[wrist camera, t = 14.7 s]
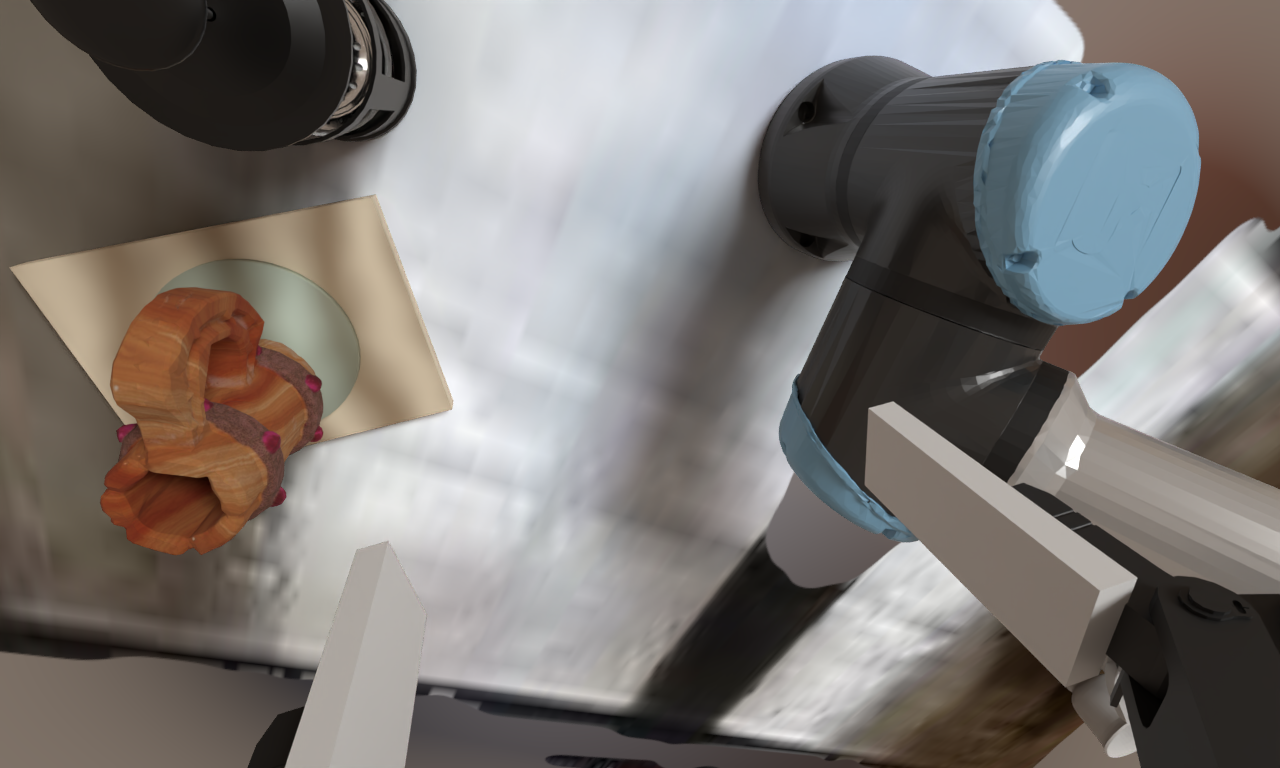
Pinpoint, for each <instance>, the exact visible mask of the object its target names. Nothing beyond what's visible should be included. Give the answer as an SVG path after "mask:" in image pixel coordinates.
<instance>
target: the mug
mask: <svg viewBox="0 0 1280 768" xmlns="http://www.w3.org/2000/svg"><path fill="white" fill-rule="evenodd" d="M263 327H264V321H263V319H262V318H261V317H260V315H259V314H258V313H257V311H256V310H255V309H254V308H253V307H252V305H251V304H250V303H249V302H248V301H247V300H245V299H244V298H243V297H242V296H241V295H239V294H237V293H234V292H231V291H222V290H213V289H205V288H198V287H186V288H175V289H171V290H168V291H166V292H163V293H161V294H158V295H157V296H156V297H155V298H154V299H153V300H152V301H151V302H150V303H148V304H147V305H145V307H144V308H143V309H142V310H141V311H140V313H139V314H138V315H137V316H136V317H135V319H134V320H133V321H132V322H131V324H130V326H129V328H128V330H127V332H126V334H125V336H124V338H123V340H122V342H121V345H120V347H119V349H118V352H117V354H116V356H115V359H114V361H113V364H112V372H111V380H110V388H111V391H112V395H113V398H114V400H115V402H116V404H117V406H119V407H120V408H122V409H123V410H124V411H126V412H127V413H129V414H130V415H131V416H133V417H134V418H135V419H136V422H137V423H134V424H127V425H123V426H122V427H120V428H119V429H118V430H117V437H118V440H119V442H122V446H121V451H120V455H119V460H118V463H117V464H116V465H115V466H114V467H113V468H112V469H111V470H110V471H109V472H108V473H107V475H106V477H105V482H104V485H105V486H106V487H107V488H108V489H107V490H106V491H105V492H104V494H103V495H102V496H101V501H100V504H101V507H102V510H103V511H104V512H105V513H106V514H107V515H108V516H109V517H111V522H112V523H113V524H114V525H118V526H122V527H125V529H126V534H127V539H128V540H129V541H131V542H132V543H134V544H137V545H140V546H143V547H146V548H149V549H152V550H156V551H160V552H164V553H168V554H172V555H179V554H183V553H184V552H186V551H187V550H188V549H191V548H195V549H196V550H197V551H198V552H199V553H200V554H201V555H202V554H204V553H206V552H209V551H211V550H213V549H215V548H218V547H220V546H222V545H224V544H225V543H227V542H228V541H230V540H231V539H232V538H233V537H234V536H235V535H236V534H237V533H238V532H239V531H240V530H241V529H242V528H243V526H244V525H245V524H246V522H247V521H249V520H251V519H253V518H255V517H256V516H257V515H259V514H260V513H261V512H263V511H264V510H266V509H267V508H269V507H274V506H278V505H280V504H282V503H283V501H284V500H285V498H286V492H285V490H284V489H283V488H282V487H281V483H282V480H283V477H284V462H285V460H286V459H287V457H288V456H289V455H291V454H293V453H295V452H297V451H299V450H300V449H301V448H303V447H304V446H305V445H306V444H307V443H309V442H317V441H319V440H321V438H322V436H323V430H322V428H321V427H320V426H319V425H320V421H321V417H322V414H323V398H322V393H321V390H320V389H321V386H322V381H321V379H320V378H318V377H317V376H316V375H315V372H314V370H313V369H312V368H311V367H310V365H309V364H308V363H307V362H306V361H305V360H304V359H303V358H302V357H300V356H299V355H297V354H296V353H295V352H294V351H293V350H292V349H290V348H289V347H287V346H286V345H284V344H283V343H279V342H275V341H271V340H267V339H260V338H261V335H262V332H263Z"/></svg>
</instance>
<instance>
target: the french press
mask: <svg viewBox="0 0 1280 768" xmlns="http://www.w3.org/2000/svg"><path fill="white" fill-rule="evenodd" d="M30 1H31V2H32V3H33V5H34V6H35V7H36V8H37V10H38V11H39V12H40V13H41V15H42V16H43V17H44V18H45V20H46V21H47V22H48V23H49V24H51V25H52V26H53V27H54V28H55V29H56V30H57V31H58V32H59V33H60V34H61V35H62V36H63V37H64V38H66V39H67V40H68V41H70V42H71V43H73V44H74V45H75V46H77V47H78V48H79V49H81V50H82V51H84V52H86V53H88V54H89V55H90V57H91V58H92V59H93V61H94V62H95V63H96V64H97V66H98V67H99V68H100V69H101V71H102V72H103V73H104V75H105V76H106V77H107V78H108V80H109V81H110V82H112V83H113V84H114V85H115V86H116V87H117V88H118V89H119V90H120V91H121V92H122V93H123V94H124V95H125V96H126V97H127V98H128V99H129V100H130V101H131V102H132V103H134V104H135V105H136V106H138V107H139V108H140V109H142V110H143V111H144V112H146V113H147V114H149V115H150V116H151V117H153V118H154V119H155V120H157V121H158V122H160V123H162V124H164V125H165V126H167V127H169V128H171V129H173V130H175V131H177V132H178V133H180V134H182V135H184V136H186V137H189V138H192V139H195V140H197V141H200V142H203V143H206V144H209V145H211V146H216V147H221V148H227V149H232V150H237V151H266V150H271V149H276V148H281V147H286V146H290V145H309V144H314V143H319V142H324V141H329V140H332V139H336V140H341V141H363V140H368V139H373V138H376V137H378V136H380V135H383V134H385V133H387V132H388V131H390V130H391V129H392V128H394V127H395V126H396V125H397V124H398V123H399V122H400V121H401V120H402V118H403V117H404V116H405V115H406V113H407V111H408V109H409V107H410V105H411V103H412V101H413V97H414V92H415V88H416V72H417V70H416V64H415V57H414V52H413V49H412V46H411V43H410V40H409V37H408V35H407V33H406V31H405V29H404V27H403V25H402V23H401V21H400V20H399V19H398V17H397V16H396V15H395V13H394V12H393V10H392V9H391V8H390V6H389V5H388V4H387V3H386V2H385V1H384V0H30ZM389 47H390V48H389ZM390 50H391V53H392V57H393V63H394V78H391V67H392V60H391V54H390ZM310 136H320V138H315V139H310V140H303V139H306V138H308V137H310Z"/></svg>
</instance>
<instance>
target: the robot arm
mask: <svg viewBox="0 0 1280 768" xmlns="http://www.w3.org/2000/svg"><path fill="white" fill-rule="evenodd" d="M1198 144H1199V132H1198V127H1197V124H1196V120H1195V117H1194V114H1193V111H1192V109H1191V107H1190V106H1189V104H1188V102H1187V100H1186V98H1185V97H1184V95H1183V94H1182V92H1181V91H1180V90H1179V89H1178V88H1177V86H1175V84H1173V83H1172V82H1171V81H1170V80H1169V79H1167V78H1166V77H1165V76H1163V75H1162V74H1160V73H1158V72H1156V71H1154V70H1152V69H1149V68H1147V67H1144V66H1141V65H1136V64H1129V63H1090V64H1082V63H1080V62H1074V61H1071V62H1070V61H1065V60H1057V61H1055V62H1054V61H1049V62H1043V63H1040V64H1037V65H1036V66H1029V67H1019V68H1010V69H1001V70H992V71H983V72H973V73H964V74H955V75H946V76H937V77H932V76H930V75H928V74H926V73H924V72H922V71H920V70H918V69H916V68H914V67H912V66H910V65H908V64H906V63H904V62H902V61H900V60H897V59H894V58H890V57H884V56H862V57H855V58H849V59H844V60H840V61H836V62H833V63H831V64H828V65H826V66H824V67H822V68H820V69H818V70H817V71H815V72H813V73H812V74H811V75H809V76H808V77H806V78H805V79H804V80H803V81H802V82H800V83H799V84H798V85H797V86H796V87H795V88H794V89H793V90H792V92H791V93H790V94H789V95H788V96H787V97H786V99H785V100H784V101H783V103H782V104H781V106H780V107H779V109H778V110H777V112H776V114H775V116H774V117H773V119H772V121H771V123H770V126H769V128H768V130H767V133H766V136H765V139H764V142H763V145H762V149H761V154H760V160H759V170H758V184H759V193H760V199H761V203H762V206H763V210H764V212H765V215H766V217H767V219H768V221H769V223H770V225H771V226H772V228H773V229H774V231H775V232H776V233H777V234H778V235H779V237H780V238H781V239H782V240H783V241H785V242H786V243H787V244H788V245H790V246H791V247H793V248H795V249H797V250H799V251H801V252H803V253H805V254H808V255H810V256H812V257H815V258H818V259H822V260H828V261H850V260H853V262H852V264H851V267H850V269H849V271H848V273H847V275H846V277H845V279H844V281H843V283H842V285H841V287H840V290H839V292H838V294H837V296H836V298H835V300H834V302H833V305H832V307H831V309H830V311H829V313H828V315H827V317H826V320H825V322H824V324H823V326H822V328H821V330H820V333H819V335H818V337H817V339H816V341H815V343H814V345H813V348H812V350H811V352H810V354H809V356H808V358H807V360H806V363H805V365H804V367H803V369H802V371H801V373H800V374H797V376H796V377H795V379H794V381H793V385H792V394H791V396H790V399H789V401H788V404H787V406H786V409H785V411H784V414H783V416H782V419H781V421H780V426H779V440H780V444H781V447H782V450H783V452H784V454H785V455H786V458H787V461H788V463H789V465H790V466H791V468H792V469H793V471H794V472H795V473H796V475H797V476H798V477H799V478H800V480H801V481H802V482H803V483H804V484H805V485H806V486H807V487H808V488H809V489H810V490H811V491H812V492H813V493H814V494H815V495H816V496H817V497H818V498H819V499H821V500H822V501H823V502H824V503H826V504H827V505H828V506H829V507H830V508H832V509H833V510H834V511H836V512H837V513H839V514H840V515H841V516H843V517H844V518H846V519H847V520H849V521H850V522H852V523H854V524H856V525H857V526H859V527H861V528H863V529H865V530H867V531H869V532H872V533H874V534H878V533H883V534H884V535H885V536H886V537H887V538H888V539H890V540H894V541H899V542H914V541H918V540H920V541H921V542H922V543H923V544H924V545H925V546H926V547H927V548H928V550H929V551H930V552H931V553H932V554H933V555H934V556H935V557H936V558H937V559H938V560H939V561H940V562H941V563H942V564H943V565H944V566H945V567H946V568H947V569H948V570H949V571H950V572H951V573H952V574H953V575H954V576H955V577H956V578H957V579H958V580H959V581H960V582H961V583H962V584H963V585H964V586H965V587H966V588H967V589H968V590H969V591H970V592H971V593H972V594H973V595H974V596H975V597H976V598H977V599H978V600H979V601H980V602H981V603H982V604H983V605H984V606H985V607H986V608H987V609H988V610H989V611H990V612H991V613H992V614H993V615H994V616H995V617H996V618H997V619H998V620H999V621H1000V622H1001V623H1002V624H1003V625H1004V626H1005V627H1006V628H1007V629H1008V630H1009V631H1010V632H1011V633H1012V634H1013V635H1014V636H1015V637H1016V638H1017V639H1018V640H1019V641H1020V642H1021V643H1022V644H1023V645H1024V646H1025V647H1026V648H1027V649H1028V650H1029V651H1030V652H1031V653H1032V654H1033V655H1034V656H1035V657H1036V658H1037V659H1038V660H1039V661H1040V662H1041V663H1042V664H1043V665H1044V666H1045V667H1046V668H1047V669H1048V670H1049V671H1050V672H1051V673H1052V674H1053V675H1054V676H1055V677H1056V678H1057V679H1058V680H1059V681H1060V683H1061V684H1062V685H1063V686H1064V687H1068V686H1071V685H1073V684H1076V683H1079V682H1082V681H1084V680H1087V679H1090V678H1092V677H1095V676H1098V675H1099V673H1100V671H1101V668H1102V666H1103V663H1104V661H1105V658H1106V656H1108V657H1109V658H1111V659H1112V660H1113V661H1114V662H1115V663H1116V664H1117V665H1118V666H1120V667H1121V668H1122V670H1121V672H1120V674H1119V677H1118V679H1117V681H1116V684H1115V686H1114V688H1113V691H1112V693H1111V695H1110V706H1113V707H1116V708H1117V707H1118V705H1119V702H1120V700H1121V698H1122V696H1124V700H1125V705H1126V709H1127V713H1128V717H1129V721H1130V725H1131V729H1132V733H1133V737H1134V741H1135V745H1136V749H1137V753H1138V757H1139V761H1140V766H1141V768H1280V490H1279V489H1277V488H1275V487H1272V486H1270V485H1267V484H1265V483H1263V482H1260V481H1258V480H1255V479H1253V478H1251V477H1248V476H1246V475H1243V474H1241V473H1239V472H1236V471H1234V470H1231V469H1229V468H1227V467H1224V466H1222V465H1219V464H1217V463H1215V462H1212V461H1210V460H1207V459H1205V458H1202V457H1200V456H1198V455H1195V454H1193V453H1190V452H1188V451H1186V450H1183V449H1181V448H1178V447H1176V446H1174V445H1171V444H1169V443H1166V442H1164V441H1162V440H1159V439H1157V438H1154V437H1152V436H1150V435H1147V434H1145V433H1142V432H1140V431H1138V430H1135V429H1133V428H1130V427H1128V426H1126V425H1123V424H1121V423H1118V422H1116V421H1113V420H1111V419H1109V418H1106V417H1104V416H1101V415H1099V414H1098V413H1097V412H1095V411H1094V410H1093V409H1091V408H1090V407H1089V404H1088V402H1087V400H1086V398H1085V395H1084V393H1083V391H1082V389H1081V387H1080V384H1079V382H1078V380H1077V377H1076V375H1075V374H1074V373H1072V372H1070V371H1067V370H1064V369H1062V368H1060V367H1057V366H1054V365H1052V364H1050V363H1047V362H1044V361H1042V360H1041V359H1040V358H1039V357H1040V355H1041V353H1042V352H1043V350H1044V348H1045V346H1046V345H1047V343H1048V342H1049V340H1050V339H1051V337H1052V335H1053V334H1054V332H1055V331H1056V329H1057V328H1058V327H1059V326H1063V325H1069V324H1083V323H1089V322H1093V321H1096V320H1099V319H1101V318H1103V317H1107V316H1109V315H1111V314H1113V313H1114V312H1116V311H1118V310H1119V309H1120V308H1121V307H1122V304H1123V300H1124V299H1133V298H1135V297H1137V296H1138V295H1139V294H1140V293H1141V292H1143V291H1144V290H1145V289H1146V288H1147V287H1148V285H1149V284H1150V283H1151V282H1152V281H1153V280H1154V278H1155V277H1156V276H1157V275H1158V274H1159V273H1160V271H1161V270H1162V269H1163V267H1164V266H1165V264H1166V263H1167V261H1168V260H1169V258H1170V256H1171V255H1172V253H1173V252H1174V250H1175V248H1176V246H1177V245H1178V243H1179V241H1180V239H1181V237H1182V235H1183V232H1184V230H1185V228H1186V226H1187V223H1188V220H1189V218H1190V215H1191V212H1192V209H1193V205H1194V201H1195V198H1196V194H1197V189H1198V184H1199V175H1200V167H1201V159H1200V156H1199V153H1198ZM426 618H427V614H426V612H425V610H424V608H423V606H422V604H421V602H420V601H419V599H418V597H417V595H416V593H415V591H414V589H413V587H412V585H411V583H410V581H409V579H408V577H407V575H406V574H405V572H404V570H403V568H402V566H401V564H400V562H399V560H398V558H397V556H396V554H395V552H394V550H393V548H392V546H391V545H390V543H389V541H387V542H383V543H380V544H376V545H372V546H369V547H365V548H362V549H358V550H357V551H356V554H355V557H354V560H353V563H352V566H351V569H350V572H349V575H348V578H347V581H346V584H345V587H344V590H343V593H342V596H341V599H340V602H339V605H338V608H337V611H336V614H335V617H334V620H333V623H332V626H331V629H330V632H329V636H328V639H327V642H326V645H325V648H324V651H323V654H322V657H321V660H320V663H319V666H318V669H317V672H316V675H315V678H314V681H313V684H312V687H311V690H310V693H309V696H308V699H307V702H306V705H305V706H304V707H301V708H298V709H294V710H292V711H288V712H285V713H282V714H279V715H277V717H276V718H275V719H274V721H273V722H272V724H271V725H270V727H269V728H268V729H267V731H266V732H265V734H264V735H263V737H262V738H261V739H260V741H259V742H258V743H257V745H256V747H255V750H254V753H253V755H252V758H251V760H250V763H249V765H248V768H405V762H406V755H407V748H408V741H409V735H410V728H411V721H412V714H413V707H414V699H415V694H416V687H417V680H418V673H419V666H420V659H421V653H422V646H423V639H424V632H425V625H426Z"/></svg>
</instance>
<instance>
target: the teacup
mask: <svg viewBox="0 0 1280 768" xmlns="http://www.w3.org/2000/svg"><path fill="white" fill-rule="evenodd" d="M1067 689H1068V690H1069V691H1071V692H1072V693H1073V694H1072V704H1073V707H1074V709H1075V710H1076V712H1077V713H1078V715H1079V716H1080V717H1081V719H1082V720H1083V721H1084V722H1085V724H1086V725H1087V726H1088V727H1089V728H1090V730H1091V731H1092V732H1093V733H1094V735H1095V736H1096V737H1097V739H1098V740H1099V741H1100V743H1101V744H1102V746H1103V748H1104V753H1105V755H1107V756H1109V757H1114V758H1116V757H1122V756H1125V755H1128V754H1130V753H1133V752H1135V751H1137V749H1136V745H1135V741H1134V737H1133V733H1132V729H1131V725H1130V721H1129V724H1127V723H1126V722H1125V721H1123V720H1122V719H1121V718H1120V717H1119V716H1118V714H1117V712H1116V710H1115V708H1114V707H1113V706H1110V696H1109V693H1108V689H1107V685H1106V680H1105V674H1099V675H1098V676H1095V677H1092V678H1090V679H1087V680H1084V681H1082V682H1079V683H1076V684H1073V685H1071V686H1068V687H1067ZM1128 718H1129V717H1128Z"/></svg>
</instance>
